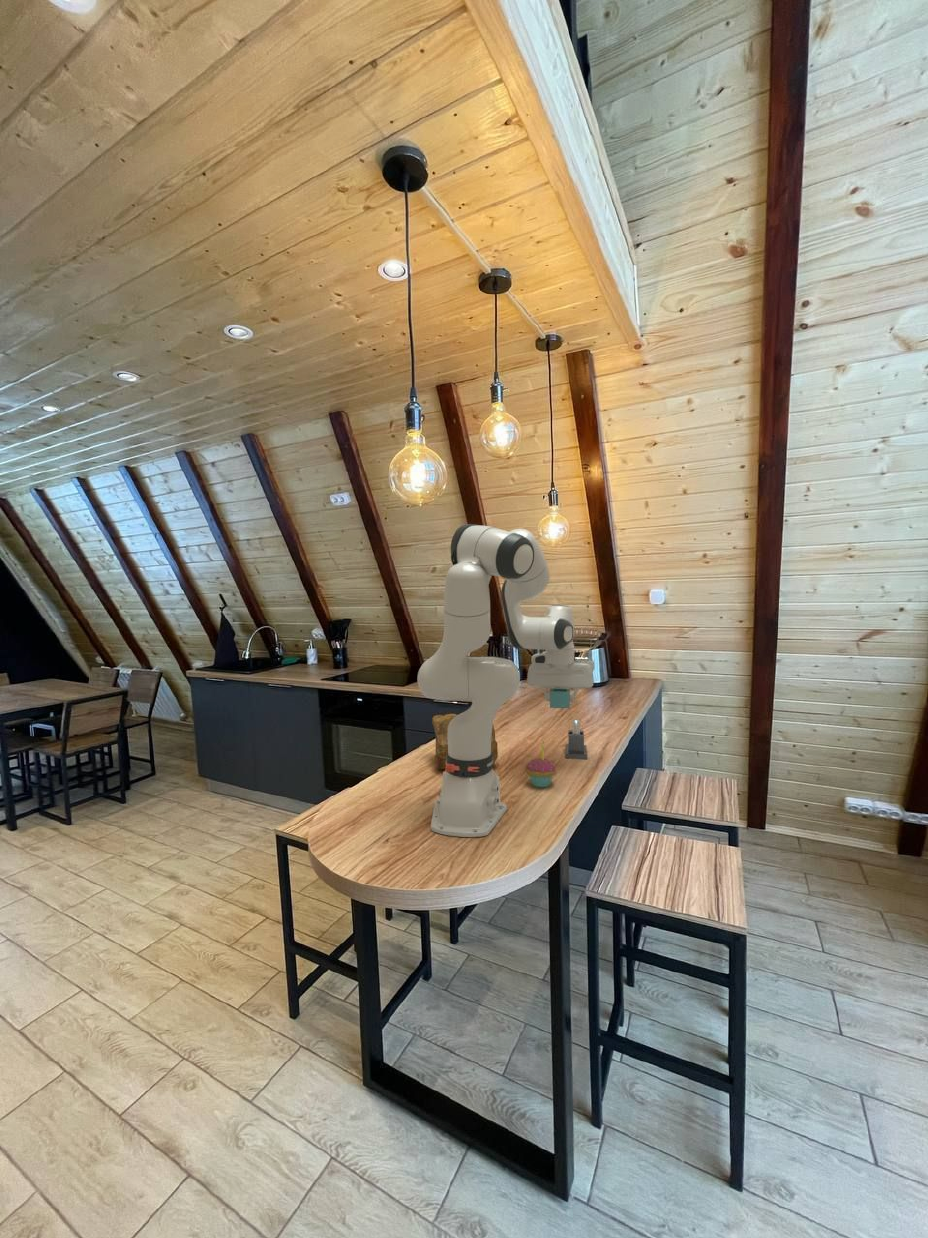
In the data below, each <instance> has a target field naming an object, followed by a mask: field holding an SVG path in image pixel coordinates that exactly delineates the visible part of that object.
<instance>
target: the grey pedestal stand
mask: <svg viewBox="0 0 928 1238" xmlns="http://www.w3.org/2000/svg"><path fill="white" fill-rule="evenodd" d="M571 721H572V727H571V728H572V729H569V730H568V736H567V737H568V738H567V739H568V741H567V742H568V743H565V749H564V750H565V751H564V753H565V754H564V755H565V757H564V758H565V759H578V760H588V750H587V749H588V747H587V745H586V744H585V732H584V730H581V727H580V726H581V725H580V724H581V720H580V719H578V718H574V719H572V720H571Z"/></svg>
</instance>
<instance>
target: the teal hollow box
mask: <svg viewBox="0 0 928 1238" xmlns="http://www.w3.org/2000/svg"><path fill="white" fill-rule="evenodd" d="M549 694H550V701H549V708H550V709H570V710H571V708H570V707H571V702H570V695H571V688H568V687H550V690H549Z"/></svg>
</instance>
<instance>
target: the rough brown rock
mask: <svg viewBox="0 0 928 1238" xmlns="http://www.w3.org/2000/svg"><path fill="white" fill-rule="evenodd" d="M457 715H458V714H456V713H449V714H448V713H447V714H444V715H443V714H438V715H437V714H436V715H433V717H432V722H431V723H432V725H433V730H434V735H435V759H436V763H437V768H438V770H445V767H446V757H447V753H448V725H449V723H450V721H451V720H452V719H453V718H454V717H456V716H457ZM495 732H496V731H495V725H494V724H493V725H492V734H491V752H492V753H493V765H494V764H495V763H496V761H497V759H498V757H499V751H498V741H496V733H495Z"/></svg>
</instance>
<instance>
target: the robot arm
mask: <svg viewBox="0 0 928 1238" xmlns="http://www.w3.org/2000/svg"><path fill="white" fill-rule="evenodd" d="M450 561H451V564H452V566H451V567H450V568H449V569H448V570H447V573H446V577H445V583H444V591H443V593H444V594H443V614H444V615H443V636H442V640H441V644H440V646H439V647H438V649H437V650H436V651H435V653H434V654H433V655H432V656H430V657H429V658H428V659H427V660H425V661H424V662H423V663H422V665H421V666H420V668H419V669H418V672H417V677H416V678H417V686H418V688H419V691H420V692H421V694H422V695H423V696H424V697H425V698H426V699H427V698H428V699H431V700H437V701H442V702H446V701H447V702H448V701H449V702H451V701H452V702H454V701H457V702H458V701H464V702H465V701H469V702H471V706H470V707H469V708H467V710H465V711H462V712H461V713H459V714H456V715H457V716H456V717H454V718H453V719H452V720H451V721H450V723H449V725H448V753H447V757H446V767H445V769H444V770H443V772H442V783H441V791H439V792H438V797H439V798H436V799H435V800H434V804H433V805H434V806H433V811H432V817H431V821H430V830H431V831H432V832H434V833H437V834H441V835H445V836H451V837H459V838H460V837H461V838H477V837H485V836H487V835H489V834H490V833H491V832H492V830H493V829H494V828H495V826H496V825H497V824H498V822H499V821H500V820H501V819H502V818H503V816H504V815H505V813H506V811H507V810H508V808H507V807H508V806H507V804H506V803H503V802H501V793H500V792H501V791H500V789H501V787H500V777H499V775H498V774H497V773H496V772H495V771H494V769H493V768H494V764H493V753H492V752H491V734H492V725H494V720H495V717H496V715H497V713H498V712H499V709H501V707H503V705H504V703H506V702H507V701H508V700H509V699H510V698H512V697H513V696H514V695H515V694H516V692H517V690H518V689H519V687H520V686H519V685H520V680H521V677H520V672H519V669H518V667H517V666H516V664H515V662H514V661H512V660H511V659H508V658H507V659H506V658H504V657H503V658H502V657H497V656H468V655H469V654H470V653H472V652H474V651H477V650H479V649H481V648H482V647H483V646H484V645H485V644H486V643H487V641H489V639H490V636H491V597H490V594H491V593H490V587H489V586H490V585H489V584H490V581H491V579H492V576H493V577H499V578H500V577H501V578H503V579H505V580H504V581H503V583H502V586H501V601H502V608H503V611H504V616H505V622H506V627H507V639H508V643H510V644H511V646H512V647H513V648H514V649H516V650H519V651H520V650H543V651H541V652H538V653H535V654H533V655H531V658H530V659H531V664H530V665H529V667H528V670H527V679H526V683H527V685H528V686H529V687H539V688H540V687H541V692H542V693H543V694H544V696H545V702H550V693H549V694H548V692H547V688H573V693H572V694H570V703H575V697H576V696H577V694H578V693H579V689H581V688H582V689H583V688H584V689H591V688H593V686H594V677H593V672H594V671H595V661H594V660H593V659H591V658H589V657H586V656H585V657H577V656H575V644H574V636H575V621H574V613H573V609H572V607H571V606H568V605H562V604H552V605H549V606H548V607H547V610H546V615H545V617H541V616H540V617H539V616H538V617H537V616H536V617H535V616H527V615H524V614H523V613H522V607H521V603H523V602H526V601H529V600H530V601H531V600H533V599H535V598H537V597H538V596H539V595H541V594H542V593H543V592H544V591H545V589H546V588H547V586H548V585H549V581H550V571H549V570H550V569H549V566H548V563H547V560H546V557H545V554H544V552H543V550H542V548H541V546H540V544H539V542H538V540H537V539H536V537H535V535H534V534H533V533H532V532H531V531H529V530H528V529H525V528H516V529H515V528H514V529H512V530H509V531H508V530H504V529H502V528H498V527H496V526H491V525H490V526H489V525H479V524H478V523H477V524H476V523H468V524H467V523H466V524H463V525H461V526H459V527H458V528H456V530H455V532H454V534H453V536H452V538H451V543H450Z"/></svg>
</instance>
